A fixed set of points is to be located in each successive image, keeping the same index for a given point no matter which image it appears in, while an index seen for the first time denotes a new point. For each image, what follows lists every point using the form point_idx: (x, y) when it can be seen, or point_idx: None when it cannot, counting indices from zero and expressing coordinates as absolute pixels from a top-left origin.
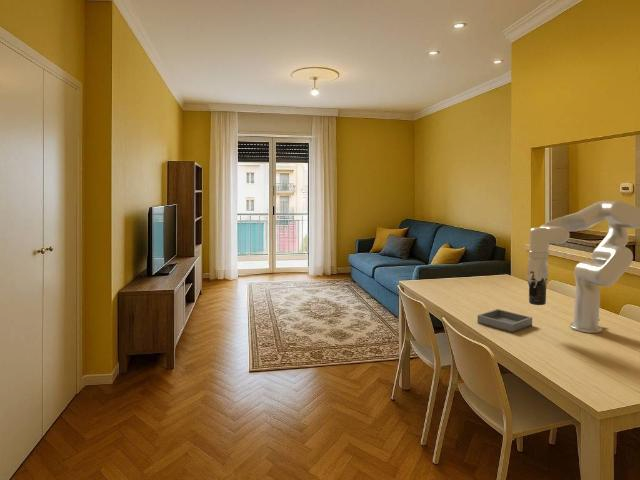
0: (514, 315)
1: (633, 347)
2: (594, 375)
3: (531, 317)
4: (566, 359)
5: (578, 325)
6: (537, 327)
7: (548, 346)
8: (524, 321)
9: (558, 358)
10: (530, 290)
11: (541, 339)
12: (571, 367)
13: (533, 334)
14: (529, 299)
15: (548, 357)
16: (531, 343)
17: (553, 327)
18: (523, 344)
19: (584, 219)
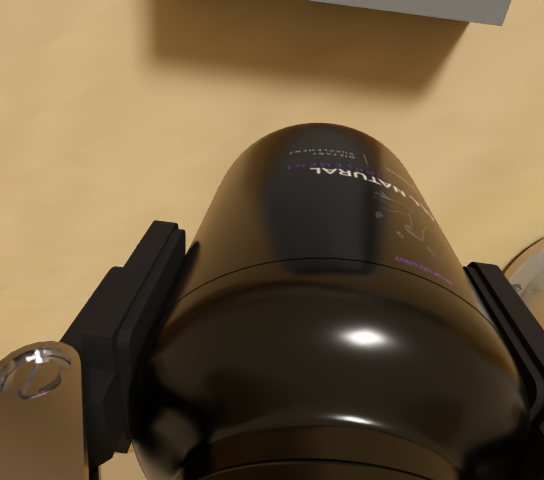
0: None
1: None
2: None
3: (498, 18)
4: (60, 324)
5: (540, 286)
6: (445, 72)
7: (137, 238)
8: (357, 6)
9: (40, 304)
10: (85, 310)
11: (210, 180)
12: (7, 350)
13: (264, 112)
14: (236, 165)
15: (9, 276)
16: (99, 164)
17: (509, 155)
18: (43, 138)
19: None
